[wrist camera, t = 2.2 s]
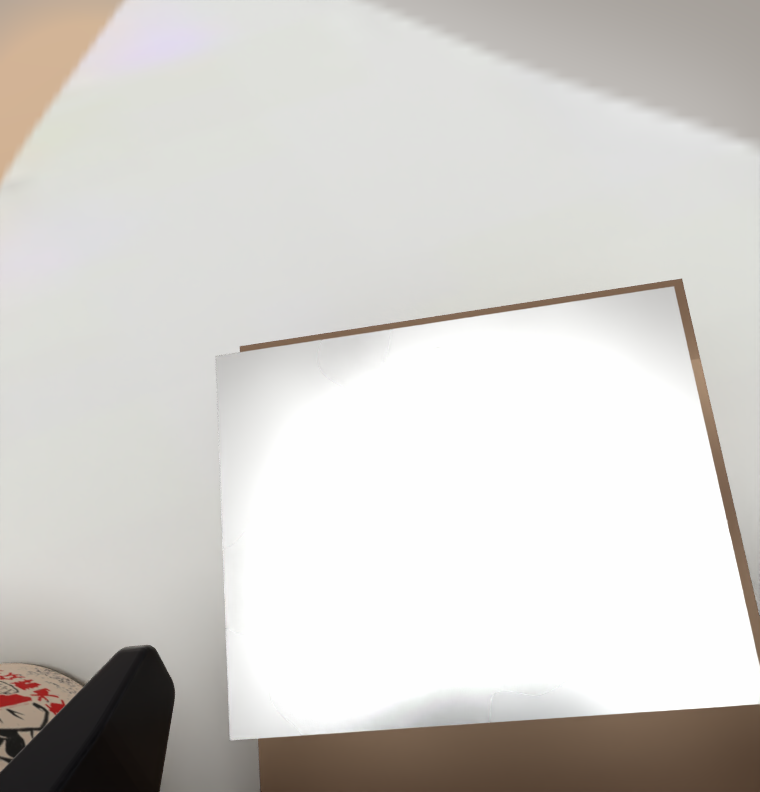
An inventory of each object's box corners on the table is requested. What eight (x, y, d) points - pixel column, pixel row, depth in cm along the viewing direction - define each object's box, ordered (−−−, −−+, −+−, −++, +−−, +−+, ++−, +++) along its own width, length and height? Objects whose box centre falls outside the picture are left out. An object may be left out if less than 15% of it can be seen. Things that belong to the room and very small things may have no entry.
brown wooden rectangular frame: (783, 924, 15) (849, 1008, 12) (310, 936, 17) (271, 1014, 14) (654, 321, 19) (682, 278, 16) (276, 376, 20) (239, 346, 18)
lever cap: (591, 611, 17) (767, 702, 6) (400, 629, 18) (229, 741, 7) (565, 458, 18) (674, 286, 7) (385, 480, 19) (215, 356, 8)
